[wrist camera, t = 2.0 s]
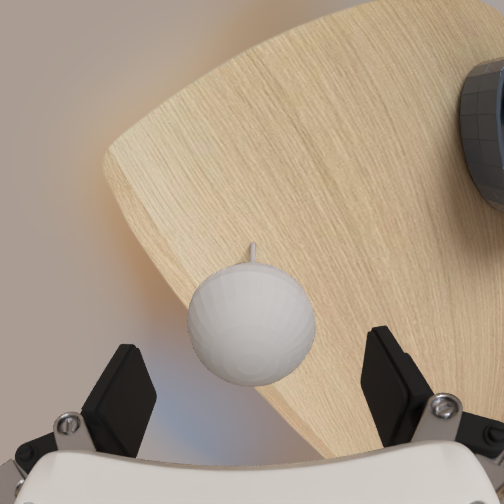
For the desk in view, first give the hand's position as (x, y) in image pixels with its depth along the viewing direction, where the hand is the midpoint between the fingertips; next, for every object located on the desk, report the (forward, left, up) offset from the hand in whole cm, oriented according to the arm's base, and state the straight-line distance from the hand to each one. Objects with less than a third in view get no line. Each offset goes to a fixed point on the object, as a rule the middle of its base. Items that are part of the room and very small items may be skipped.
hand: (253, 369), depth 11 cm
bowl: (-10, +29, -15) cm, 34 cm away
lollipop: (0, 0, -15) cm, 15 cm away
